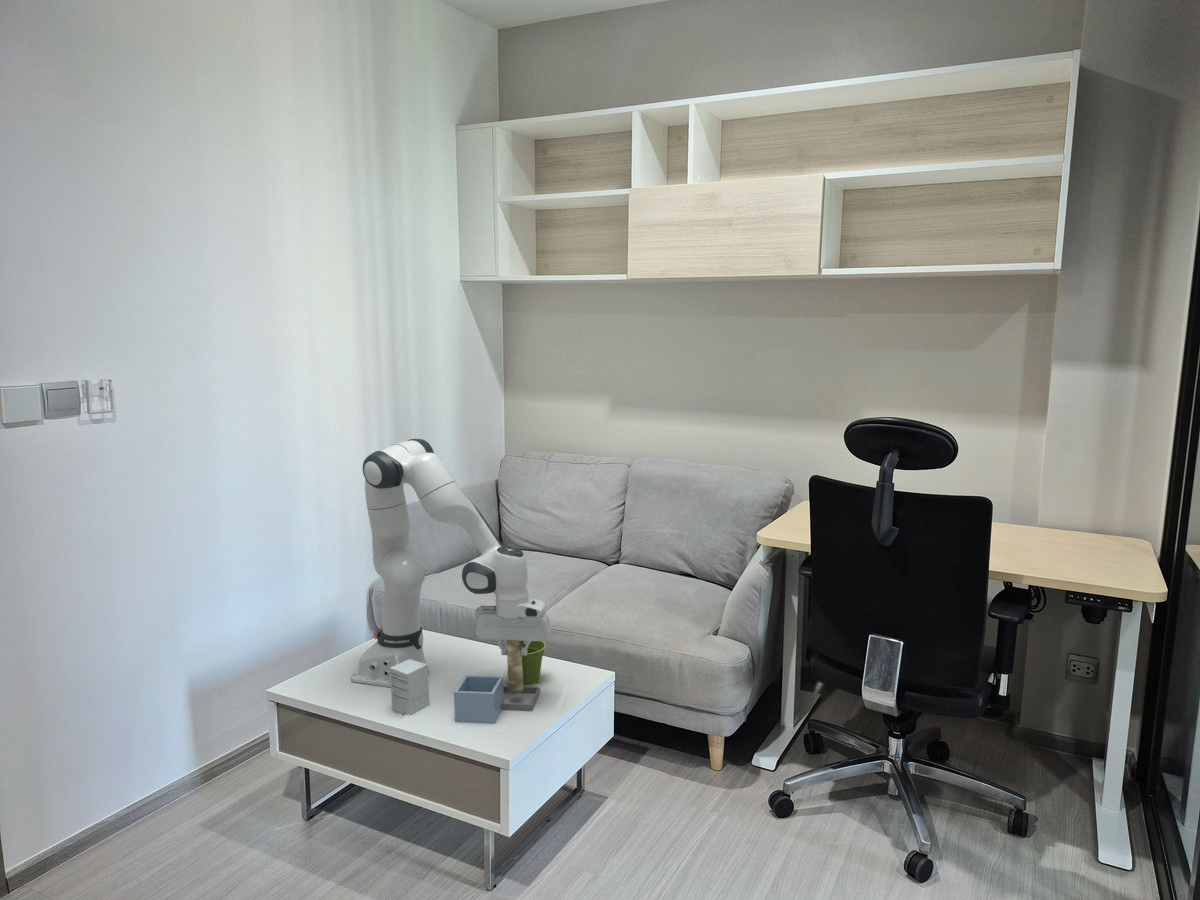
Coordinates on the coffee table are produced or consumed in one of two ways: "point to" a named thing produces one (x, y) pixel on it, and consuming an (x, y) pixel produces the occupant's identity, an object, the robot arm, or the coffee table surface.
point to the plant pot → (532, 661)
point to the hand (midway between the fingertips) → (514, 654)
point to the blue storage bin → (479, 699)
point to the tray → (522, 706)
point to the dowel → (514, 666)
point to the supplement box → (409, 687)
